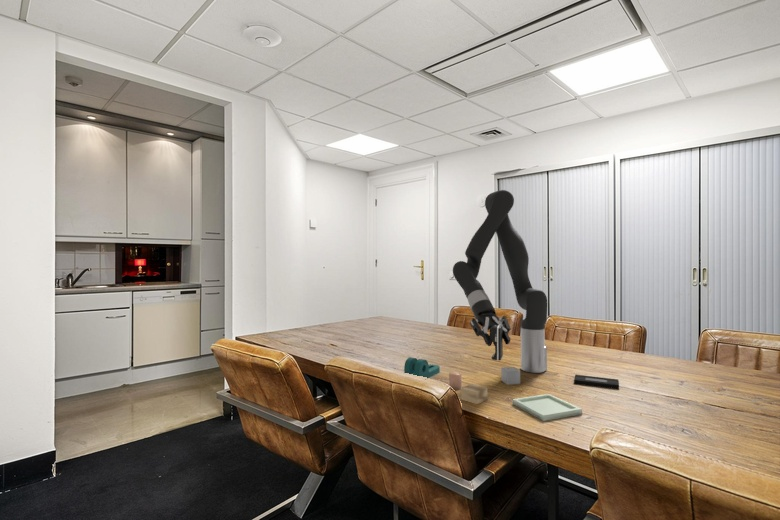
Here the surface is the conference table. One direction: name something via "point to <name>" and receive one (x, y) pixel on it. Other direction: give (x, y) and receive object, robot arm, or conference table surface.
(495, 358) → the battery charger
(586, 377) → the vhs tape
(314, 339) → the conference table surface
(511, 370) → the grey box
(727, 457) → the conference table surface
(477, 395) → the oak block
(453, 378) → the pink glossy rounded part
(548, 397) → the tray
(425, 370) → the bracket
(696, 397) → the conference table surface
